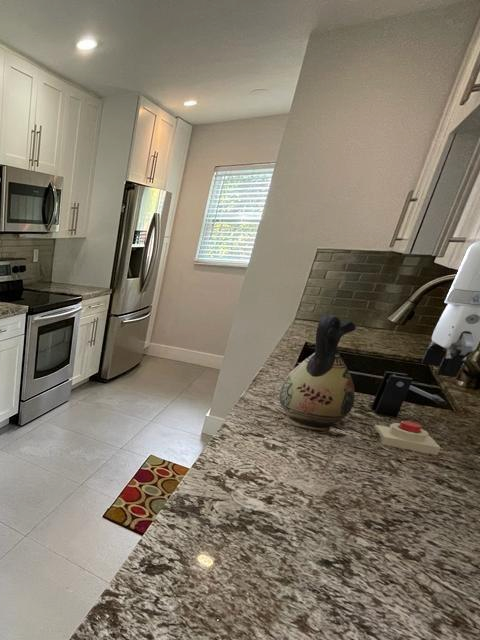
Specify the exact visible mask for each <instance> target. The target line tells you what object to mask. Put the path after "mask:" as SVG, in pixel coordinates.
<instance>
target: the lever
mask: <svg viewBox="0 0 480 640" xmlns="http://www.w3.org/2000/svg"><path fill="white" fill-rule="evenodd" d="M392 376H396V375H394V374H393V375H392ZM387 382H388V380H387ZM408 391H412V392H414V393H416V394H418V395H420V396H422V397H425V398H427V399H429V400H432V401H433V402H434V403H436V404H437V406H439V407H445V406H446V405H447V401H445V400H444V399H443V398H442V397H440V395H438V394H434V393H433V394H431V393H429V392H426V391H425V390H422V389H420V388H418V387H416V386H413V385H412V384H411V385H410V388H409V390H408Z"/></svg>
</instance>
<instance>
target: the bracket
mask: <svg viewBox="0 0 480 640" xmlns="http://www.w3.org/2000/svg"><path fill="white" fill-rule="evenodd" d="M393 374H394V375H396V376H392V375H393ZM387 380H388V382H387ZM413 381H414V379H413V378H412V377H408V373H401V372H395V371H394V372H393V371H384V374H383V377H382V379H381V381H380V383H379V387H378V389H377V391H376V394H375V396H374V399H373V401H372V404H371V406H370V409H372V410H375V411H374V414H375V415H380V416H386V417H391V418H397V417H398V415H399V413H400V410H401V408H402V406H403V403H404V402H405V399H406V397H407V394H408V392H409V391H410V390H409V388H410V385H411V386H412V383H413Z"/></svg>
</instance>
